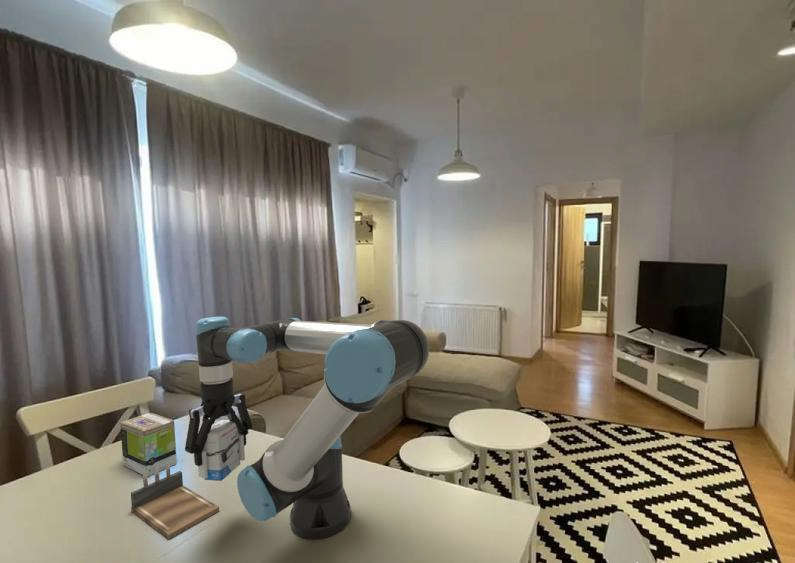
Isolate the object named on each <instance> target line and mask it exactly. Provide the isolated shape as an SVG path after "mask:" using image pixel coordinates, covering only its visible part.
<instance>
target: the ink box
mask: <svg viewBox="0 0 795 563" xmlns="http://www.w3.org/2000/svg"><path fill="white" fill-rule="evenodd" d="M203 450H204V451H206V457H207V471H208V478H206V479H204V478H203V479H204V481H214V482H215V481H218V482H221V481H223V480H224V479H225V478H226V477H228V476H229V475H230V474H231V473H232V472H233V471H234V470H236V469H237V468H238V467H240V465H241V460H240V449H239V434H238V427H237V425H236V423H234V422H231V421H230V420H229V419H221V420H219V421H217V422H216V423H214V424H213V425H212V427H211V430H210V432H209V434H208V438H207V440H206V443H205V446H204V448H203Z"/></svg>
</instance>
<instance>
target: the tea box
mask: <svg viewBox="0 0 795 563" xmlns="http://www.w3.org/2000/svg"><path fill="white" fill-rule="evenodd" d="M175 430H176V427H175V420H174V419H171V418H168V417H165V416H162V415H159V414H157V413H154V412H148V413H144V414H142V415H139V416H136V417H132V418H129V419H126V420H124V421H123V420H122V421H120V437H121V452H122V465H123V466H125V467H127V468H129V469H130V470H132V471H134V472H136V473H139V474H140V475H142V476H143V473H144V472H147V478H148V477H150V476H153V475H155V471H154V468H156V467H159V472H161V471H163V470H164V471H165V470H166V463H168V462H169V463H170V468H171V467H172V466H174V465H177V463H178V462H177V461H178V460H177V446H176V445H177V444H176V431H175Z"/></svg>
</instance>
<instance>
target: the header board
mask: <svg viewBox="0 0 795 563" xmlns="http://www.w3.org/2000/svg"><path fill="white" fill-rule="evenodd" d="M154 471H155V474H154V482H151V483H150V484H148V482H149V481H148V477H147V472H144V473H143V475H142V482H143V483H142V485H143V487H140V488H139V489H136V490H135V491H132V492H130V500H131V502H130V503H131V506H130V507H131V508H130V509H131V512H132V513H134V514H135V515H136V516H137V517H139V518H140V519H141V520H142V521H143V522H145V523H146V524H148V525H149V526H150V527H152V528H153V529H155V531H157V532H158V533H159V534H161V535H162V536H163V537H164V538H166V539H167V540H171V539H173V538H174V537H176V536H178V535H179V534H181V533H183V532H185V531H187V530H188V529H190V528H192V527H194V526H196V525H197V524H199V523H201V522H203V521H205V520H206V519H208V518H210V517H211V516H213V515H215V514H217V513H219V512H220V506H218V505H217V504H215V503H213V502H212V501H210V500H208V499H207V498H205V497H204V496H202V495H201V494H198V493H197V492H195V491H193V490H191V489H190V488H188V487H187V486H185V485H184V484H183V483H184V480H183V471H181V470H179V471H177V472H174V473H173V474H171V467H170V463H169V462H168V463H166V469H165V474H166V475H165V477H163V478H160V471H159V467H156V468H154Z"/></svg>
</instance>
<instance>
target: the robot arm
mask: <svg viewBox="0 0 795 563" xmlns="http://www.w3.org/2000/svg"><path fill="white" fill-rule="evenodd" d="M195 326H196V327H195V328H196V329H195V330H196V334H195V338H196V348H197V361H198V372H199V373H198V374H199V381H200V383H199V387H200V388H199V390H200V399H201V403H200V406H198V407H197V408H190V409H189V410H188V415H189V416H188V417H189V423H188V428H187V429H188V430H187V435H186V440H185V447H184V451H185V452H187V453H189V454H193V461H194V465H195V466H197V468H198V469H197V470H198V476H199V477H200V478H202V479H206V478H208V471H207V457H206V451H204V450H203V448H204V446H205V443H206V440H207V438H208V434H209V432H210V430H211V427H212V425H214V424H215V422H216V420H218V419H220V418H221V417H227V420H230V421H231V422H234V423H236V425H237V427H238V434H239V449H240V462H241V461H242V462H243V461H245V460H246V454H245V446H247V435H249V430H252V429H253V423H252V421H251V420H252V419H251V417H250V414H249V410H248V408H247V404H246V395H245V394H242V393H240V392H238V393H236V394H234V390H235V389H234V388H235V387H234V379H233V376H234V373H233V372H234V370H233V361H234V362H237V363H242V364H246V363H248V364H250V363H251V364H252V363H255V362H258V361H260V359H261V358H263V357H264V355H268V354H271V353H276V352H279V351H290V352H291V351H292V352H300V353H301V352H302V353H309V354H310V353H311V354H317V355H318V354H319V355H320V354H321V355H325V358H324V362H323V363H324V365H325V368H324V370H323V373H324V374H323V381H324V382H323V383H324V384H323V386H322V388H321V389H320V390H319V392H318V393H317V394H316V396H315V397H314V398H313V400H311V402H310V403H309V405H308V406H307V407H306V408H305V410H304V412H303V413H302V414H301V415H300V417H299V418H298V419H297V420H296V422H295V423H294V424H293V426H292V427H291V428H290V430H289V431H288V432H287V433H286V435H285V436H284V438H283V439H281V440H278V441H277V440H276V441H275V442H273V443H272V444H270V445H269V447H267V449H266V450H265V451H264V452H263V454H262V455H261V457H260V458H259V459H258V460H257V461H255V462H254V463H252V464H250V465H246V467H244V468H243V469H242V470H240V471H239V472H238V476H237V481H236V482H237V484H236V485H237V490H238V491H237V492H238V495H239V499H240V501H241V503H242V505H243V507H244V509H245V510H246V512H247V513H248V514H249V515H250V516H251V517H252V518H254V519H255V520H256V521H258V522H267V521H268V520H270V519H272V518H275V517H277V515H278V514H280V513H281V512H282V511H284V510H286V509H287V508H288V507H290V506H291V505H292V507H291V509H290V513H289V521H290V522H289V525H290V528H291V530H292V532H293V533H294V534H295V535H296V536H298V537H301V538H305V539H308V540H309V539H310V540H315V539H316V540H318V539H324V538H328V537H332V536H334V535H336V534H338V533H340V532H341V531H342V530H344V529H345V528H346V527H347V526H348V525H349V523H350V521H351V519H352V510H351V508H352V507H351V503H350V501H349V499H348V496H347V493H346V491H345V488H344V481H343V479H344V477H343V473H344V472H343V444H342V438H341V435H342V434H343V433H344V432H345V430H347V428H349V426H350V424H352V422H354V420H355V419H356V417H357V416H358V415H360V414H366V413H369V412H371V411H373V410H374V409H376V407H377V406H378V405H379V404H380V402H381V401H382V400H383V399H384V398H385V397H386V395H387V394H389V392H391V390H392V389H393V388H394V387H395V388H396V386H398V385H400V384H402V383H404V382H406V381H408V380H409V379H411V378H413V377H415V376H417V375H418V374H419V373H421V371H422V370H423V368H424V367H425V366H426V364H427V363H428V359H429V355H430V344H429V340H428V338H427V335H426V334H425V332H424V330H422V329H421V327H420V326H418V325H417V324H416V323H414V322H413V321H409V320H406V319H395V320H383V319H380V320H378V321H377V320H376V321H375V322H374V323H373V324H368V323H367V324H365V323H347V322H345V323H344V322H329V321H327V322H326V321H305V320H301V319H300V318H298V317H289V318H288V317H287V318H283V319H281V320H280V319H279V320H275V321H270V322H265V323H259V324H255V325H249V326H245V327H243V326H242V327H231V324H230V320H229V318H227V317H226V316H212V317H211V316H210V317H203V318H201V319H198V320H197V321H196V324H195ZM234 403H235V406H236V409H237V411H238V415H239V417H238V415H237V414H236V411H235V410H234V408H233V405H234ZM202 413H203V416H202ZM201 417H202V419H201ZM201 421H202V423H201ZM200 423H201V425H200Z"/></svg>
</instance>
